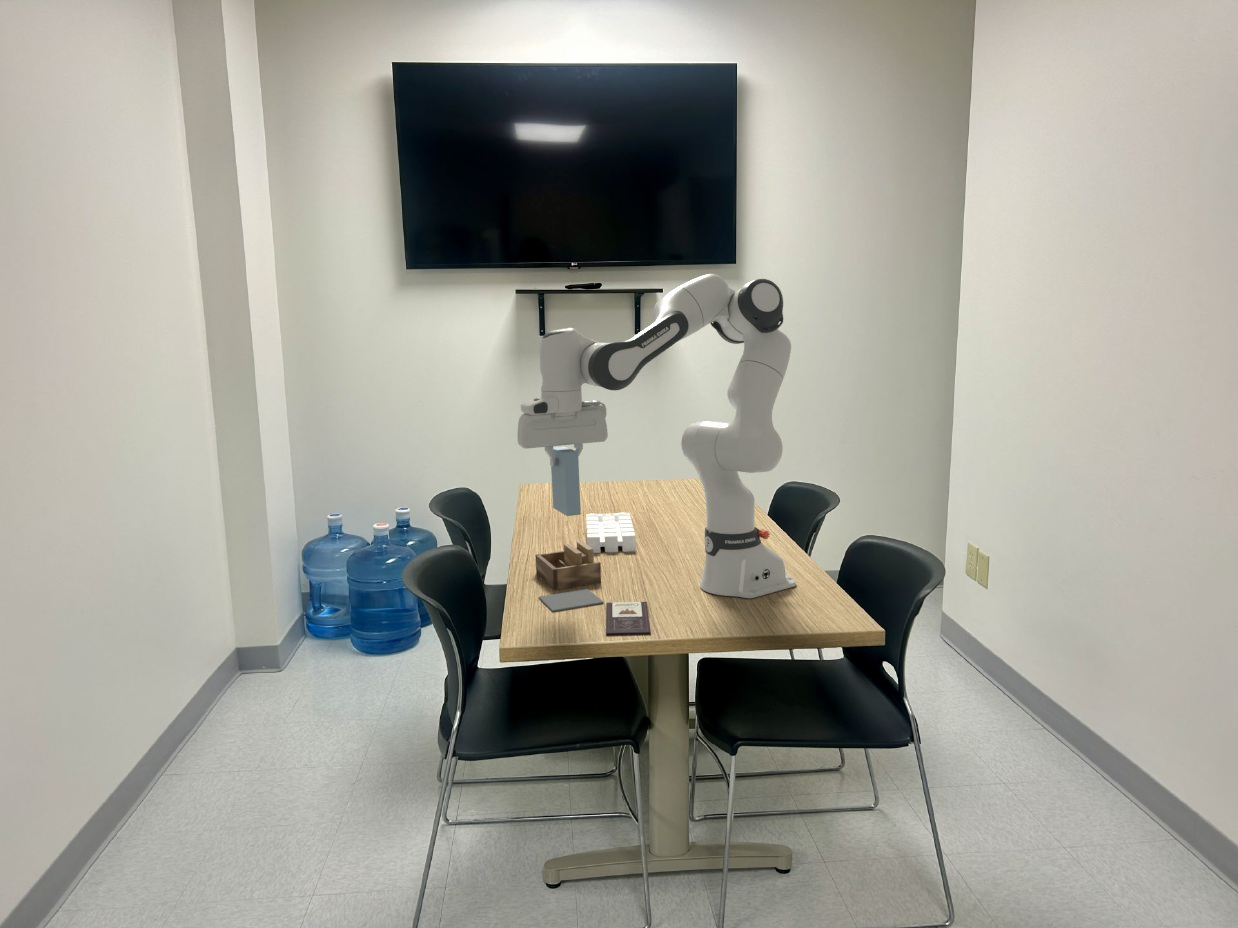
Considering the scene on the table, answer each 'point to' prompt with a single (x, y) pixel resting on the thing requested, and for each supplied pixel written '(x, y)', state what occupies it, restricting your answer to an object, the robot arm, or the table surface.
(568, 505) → the light blue block
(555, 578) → the rack
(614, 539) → the organizer
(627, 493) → the table surface
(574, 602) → the mat
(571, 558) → the offcuts
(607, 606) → the chocolate bar
